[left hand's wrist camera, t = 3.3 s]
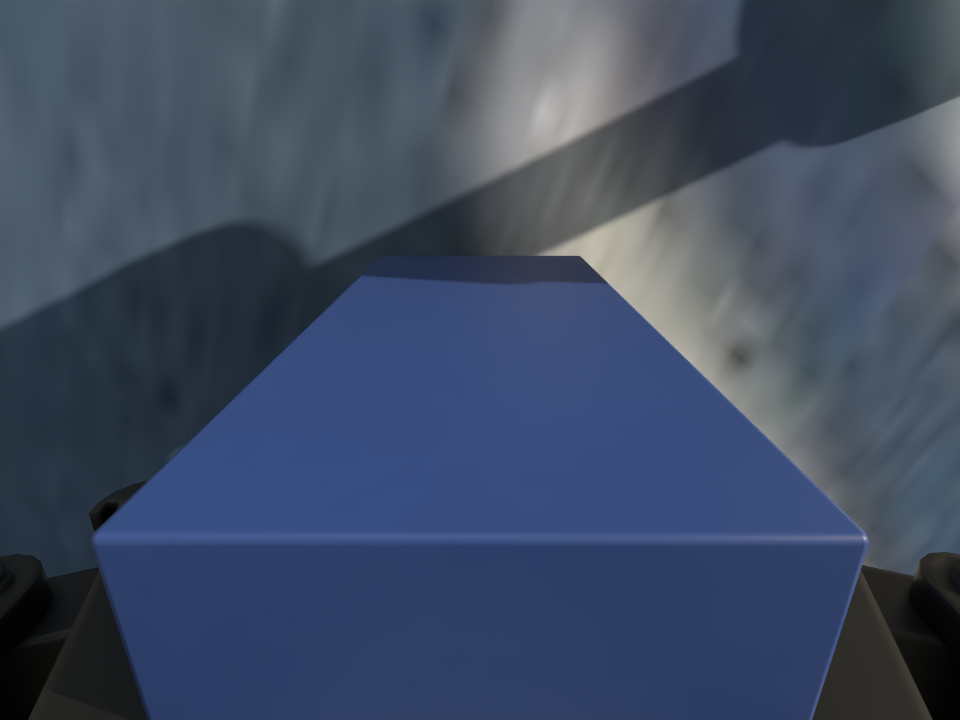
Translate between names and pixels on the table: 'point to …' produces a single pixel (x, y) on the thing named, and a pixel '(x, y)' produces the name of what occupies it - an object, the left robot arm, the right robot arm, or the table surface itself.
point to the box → (479, 523)
